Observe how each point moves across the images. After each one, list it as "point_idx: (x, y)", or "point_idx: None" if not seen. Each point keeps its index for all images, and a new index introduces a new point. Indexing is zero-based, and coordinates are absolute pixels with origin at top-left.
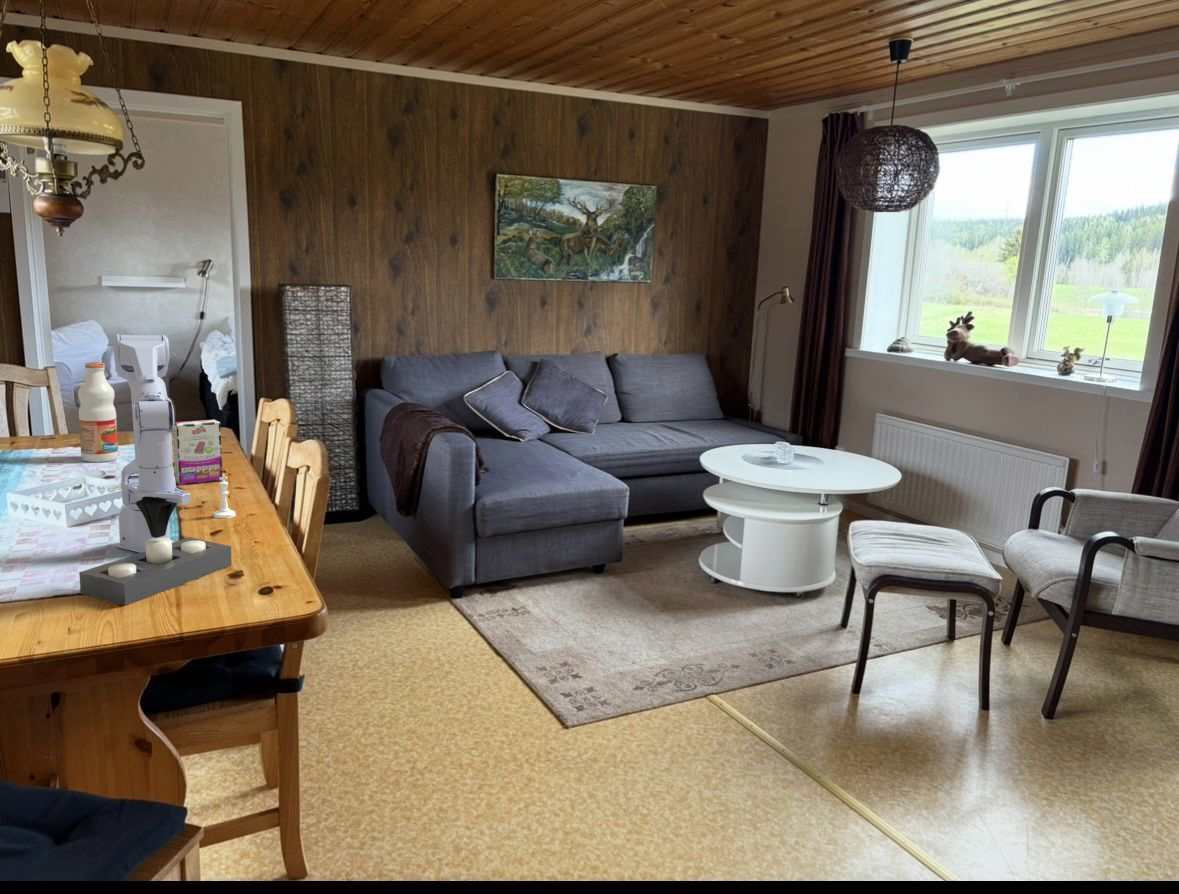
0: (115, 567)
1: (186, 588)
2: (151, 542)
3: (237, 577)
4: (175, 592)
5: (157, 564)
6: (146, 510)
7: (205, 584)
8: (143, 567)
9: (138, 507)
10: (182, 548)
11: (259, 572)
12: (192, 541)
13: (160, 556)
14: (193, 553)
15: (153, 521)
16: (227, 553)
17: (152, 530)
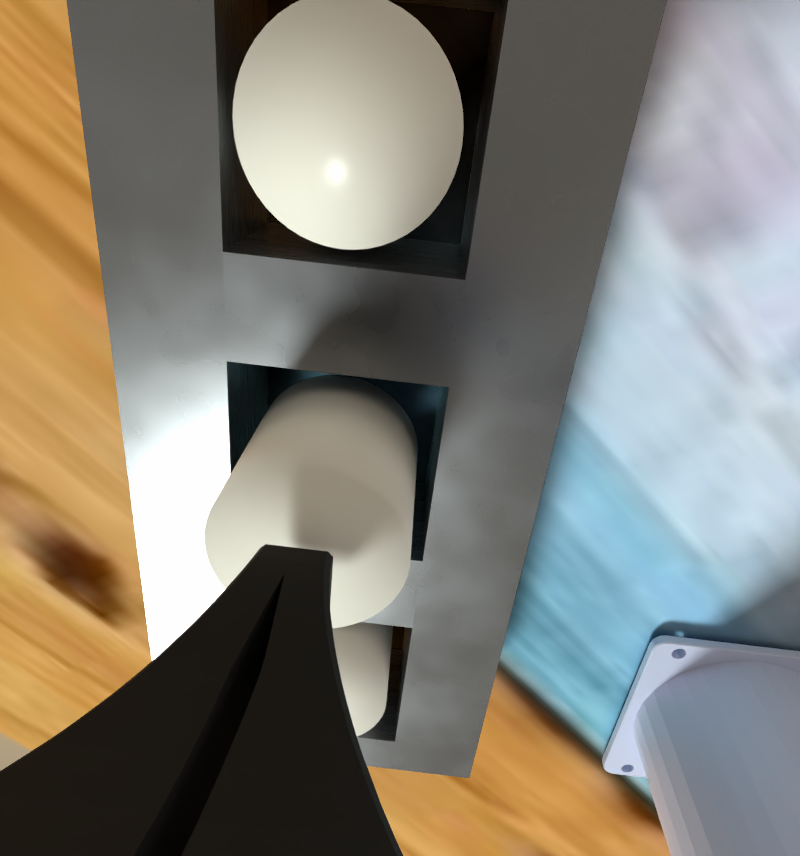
0: (396, 99)
1: (107, 342)
2: (332, 510)
3: (46, 553)
4: (100, 265)
5: (283, 398)
6: (209, 803)
7: (81, 427)
8: (274, 278)
9: (391, 851)
10: (339, 639)
11: (27, 628)
12: (354, 722)
13: (251, 438)
14: None
15: (185, 661)
16: None
17: (271, 585)
